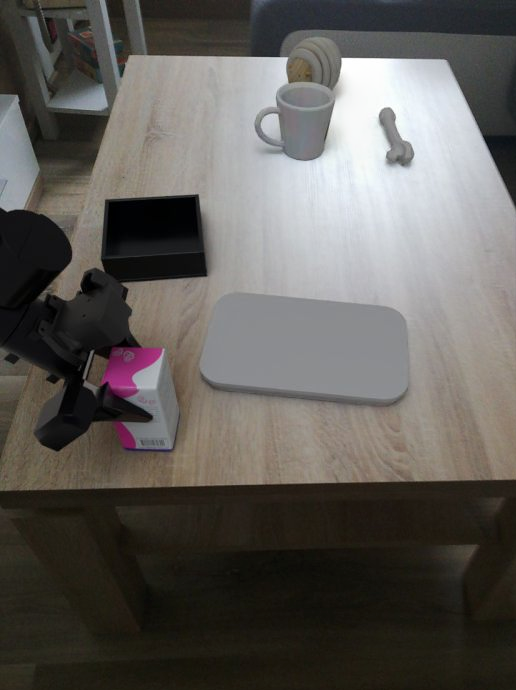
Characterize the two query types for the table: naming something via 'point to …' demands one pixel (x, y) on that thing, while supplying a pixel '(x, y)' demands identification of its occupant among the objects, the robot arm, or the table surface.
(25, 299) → the robot arm
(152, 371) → the supplement box
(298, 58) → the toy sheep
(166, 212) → the black open box
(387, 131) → the bone
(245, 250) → the table surface
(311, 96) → the mug
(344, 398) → the tablet
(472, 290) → the table surface
